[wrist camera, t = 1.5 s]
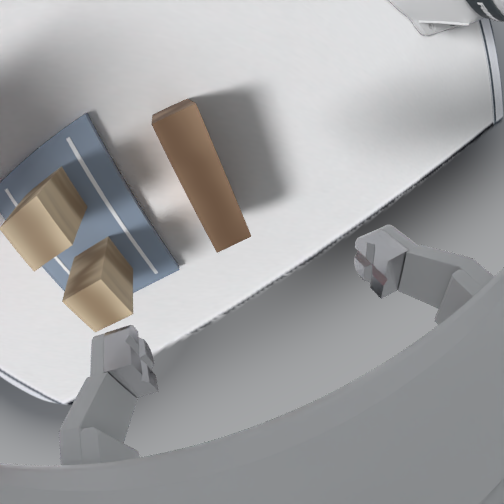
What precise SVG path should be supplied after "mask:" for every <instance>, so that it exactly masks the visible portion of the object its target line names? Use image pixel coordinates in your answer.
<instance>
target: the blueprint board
mask: <svg viewBox="0 0 504 504" xmlns="http://www.w3.org/2000/svg"><path fill="white" fill-rule="evenodd" d="M61 166H62V168H63V169H64V171H65V172H66V174H67V176H68V177H69V179H70V181H71V182H72V184H73V185H74V187H75V188H76V190H77V191H78V193H79V195H80V196H81V198H82V199H83V201H84V202H85V204H86V205H87V209H86V212H85V214H84V216H83V219H82V221H81V224H80V226H79V229H78V232H77V234H76V237H75V240H74V242H73V245H72V246H70V247H69V248H67V249H66V250H64V251H63V252H62V253H60V254H59V255H57V256H56V257H54V258H53V259H51V260H50V261H48V262H47V263H46V264H44V265H43V266H42V267H43V268H44V269H45V270H46V272H47V273H48V274H49V275H50V276H51V277H52V278H53V279H54V280H55V282H56V283H57V284H58V285H59V286H60V287H61V288H62V289H63V290H64V291H65V289H66V285H67V281H68V277H69V274H70V270H71V267H72V263H73V260H74V257H75V256H77V255H79V254H80V253H82V252H83V251H85V250H87V249H88V248H90V247H91V246H93V245H95V244H96V243H98V242H100V241H101V240H103V239H105V238H106V237H108V236H109V238H110V239H111V241H112V242H113V243H114V245H115V246H116V247H117V249H118V250H119V251H120V253H121V254H122V255H123V256H124V258H125V259H126V260H127V262H128V263H129V264H130V265H131V267H132V268H133V293H134V292H136V291H138V290H140V289H142V288H144V287H146V286H148V285H150V284H152V283H154V282H156V281H158V280H160V279H162V278H164V277H166V276H168V275H170V274H172V273H174V272H176V271H178V270H179V265H178V264H177V262H176V261H175V259H174V258H173V256H172V255H171V253H170V252H169V250H168V249H167V247H166V246H165V244H164V243H163V241H162V240H161V238H160V237H159V235H158V234H157V232H156V231H155V229H154V227H153V226H152V224H151V223H150V221H149V220H148V218H147V217H146V215H145V213H144V212H143V210H142V209H141V207H140V205H139V204H138V202H137V200H136V199H135V197H134V196H133V194H132V192H131V191H130V189H129V187H128V186H127V184H126V182H125V181H124V179H123V177H122V175H121V174H120V172H119V170H118V169H117V167H116V165H115V163H114V162H113V160H112V158H111V156H110V155H109V153H108V151H107V149H106V147H105V146H104V144H103V142H102V140H101V138H100V137H99V135H98V133H97V131H96V129H95V127H94V125H93V123H92V122H91V120H90V118H89V116H88V114H87V113H86V114H84V115H83V116H81V117H80V118H78V119H77V120H75V121H74V122H72V123H71V124H70V125H68V126H67V127H65V128H64V129H63V130H61V131H60V132H59V133H57V134H56V135H55V136H53V137H52V138H51V139H49V140H48V141H47V142H45V143H44V144H43V145H42V146H40V147H39V148H38V149H37V150H36V151H34V152H33V153H32V154H31V155H30V156H29V157H27V158H26V159H25V160H24V161H23V162H22V163H21V164H19V165H18V166H17V167H16V168H15V169H14V170H13V171H12V172H11V173H10V174H9V175H8V176H7V177H6V178H4V179H3V180H2V181H1V182H0V213H1V214H2V216H3V217H4V219H5V220H6V219H7V218H8V217H9V215H10V214H11V213H12V212H13V210H14V209H15V208H16V207H17V205H18V204H19V203H20V202H21V200H22V199H23V198H24V197H25V196H26V195H27V193H29V192H30V191H31V190H32V189H33V188H35V187H36V186H37V185H38V184H39V183H41V182H42V181H43V180H44V179H46V178H47V177H48V176H50V175H51V174H52V173H53V172H55V171H56V170H57V169H59V168H60V167H61Z"/></svg>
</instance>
